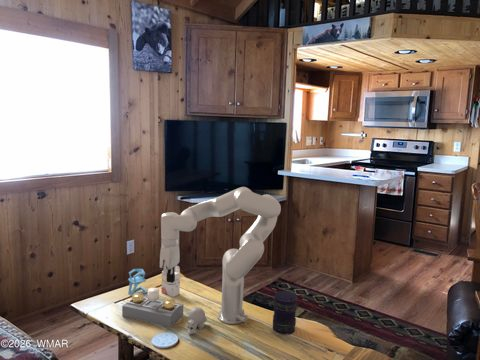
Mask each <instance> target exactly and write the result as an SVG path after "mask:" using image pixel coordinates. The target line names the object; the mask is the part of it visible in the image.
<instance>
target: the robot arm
mask: <svg viewBox="0 0 480 360" xmlns="http://www.w3.org/2000/svg"><path fill="white" fill-rule="evenodd" d="M281 207H282V206H281V204H280V202H279V201H278V200H277V199H276V198H275V197H274V196H272V195H270V194H267V193H266V194H263V195H261V194H259V193H256V192H253V191H252V190H251V189H250V188H248V187H246V186H241V187H238V188H236V189H233V190H230V191H229V192H226V193H224V194H221V195H220V196H219V195H218V196H217V197H214V198H211V199H209V200H206V201H202V202H199V203H197V204H195V205H192V206H189V207H188V208H186V209H184V210H183V211H182V212H181V213H180V214H178V213H176V212H172V211H171V212H170V211H169V212H164V213H162V214H161V216H160V227H161V229H160V230H161V231H160V233H161V235H160V236H161V237H160V238H161V239H160V240H161V241H160V242H161V247H160V250H159V251H160V253H159V268H160V269H163V270H162V271H163V273H166V274H167V282H170V283H173V282H174V281H175V270H176V266H178V264H179V263H180V261H181V260H180V258H181V255H180V254H181V253H180V252H181V251H180V231H181V232H186V233H187V232H192V231H194V230H195V229H196V228H197V225H198V222H200V221H203V220H204V219H208V218H211V217H214V218H216V217H217V218H220V217H221V218H222V217H225V216H227V215H229V214H231V213H234V212H235V211H238V210H241V211H244V212H246V213H249V214H253V215H256V216H257V218H256V220H255V221H254V222H253V224H251V226H250V227H249V228H248V229H247V230H246V231H245V233H243V235H241V237H240V239H239V249H238V248H230V249H228V250H227V251H225V252H224V254H223V256H222V280H221V281H222V284H221V308H220V311H219V312H217V319H218V320H219V321H220V322H222V323H223V324H227V325H237V324H240V323H246V321H247V319H248V317H249V316H248V314H245V309H244V308H243V303H244V302H243V301H244V283H245V279H244V278H245V276H246V275H247V274H248V273H249V272H250V271H251V270H252V269H253V267H254V266H255V265H256V264H257V263H258V262H259V260H261V258H262V256H263V254H264V252H265V245H264V242H265V241H266V240H267V238H268V237H269V235H270V234H271V233H272V232H273V230H274V229H275V227H276V225H277V222H278V217H279V215H280V214H281V210H282V208H281Z"/></svg>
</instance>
